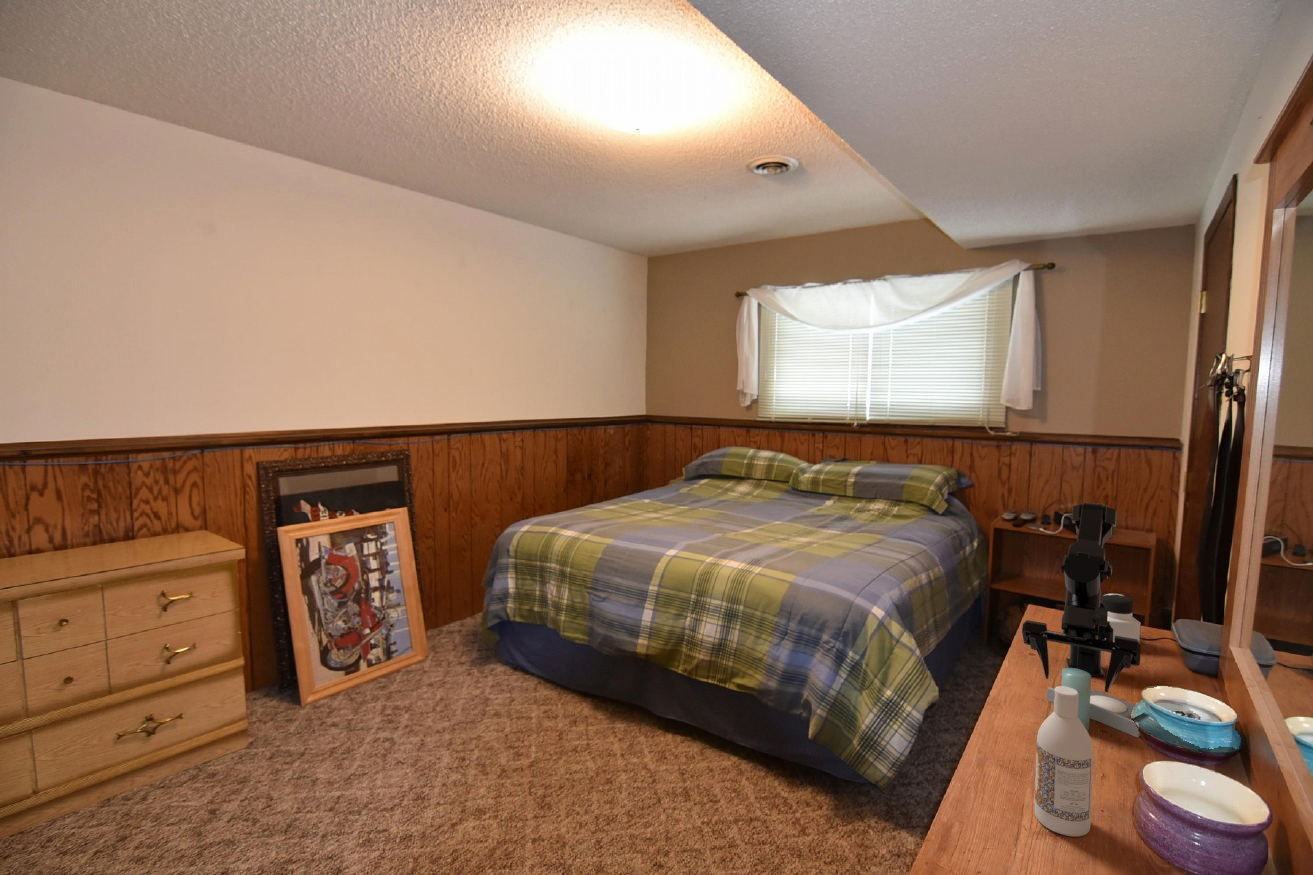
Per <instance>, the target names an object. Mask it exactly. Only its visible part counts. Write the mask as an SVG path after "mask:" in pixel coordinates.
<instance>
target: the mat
mask: <svg viewBox="0 0 1313 875" xmlns="http://www.w3.org/2000/svg"><path fill="white" fill-rule="evenodd" d="M1090 703H1091V704H1094V705H1096V706H1099V707H1101V708H1104V709H1106V710H1109V711H1111V712H1114V713H1116V714H1119V715H1121V716H1124V717H1126V718H1129V719H1131V712H1132V710H1133V707H1135V706H1136V704H1134V703H1131V702H1128V701H1126V700H1123V699H1121V698H1118V697H1116V696H1113V695H1110V694H1108V693H1106V692H1102V691H1100V690H1097V689H1092V690H1091V691H1090Z"/></svg>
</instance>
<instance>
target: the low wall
mask: <svg viewBox="0 0 1313 875" xmlns="http://www.w3.org/2000/svg"><path fill="white" fill-rule="evenodd" d="M1054 698H1055V688H1053V687H1051V686H1048V687H1047V688H1046V700H1047V701H1049V702H1051V703H1053V704H1054ZM1089 719H1091V720H1094V721H1097V722H1100V723H1101V724H1103V725H1106V726H1108V727H1110V728H1113V729H1115V730H1117V731H1118V730H1119V732H1120V731H1121V732H1123V733H1125V734H1127V735H1130V736H1133V737H1135V738H1139V737H1140V734H1141V733H1140V732H1139V731H1138V728H1137V727H1136V724H1135V723H1134V721H1135V720H1134V719H1133V720H1134V721H1133V720H1131V719H1129V718H1126V717H1124V716H1121V715H1119V714H1116V713H1114V712H1111V711H1109V710H1106V709H1104V708H1101V707H1099V706H1096V705H1094V704H1091V703H1090V716H1089Z"/></svg>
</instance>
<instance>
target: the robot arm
mask: <svg viewBox="0 0 1313 875" xmlns="http://www.w3.org/2000/svg"><path fill="white" fill-rule="evenodd" d="M1117 513H1118V512H1117V509H1115V508H1112V507H1111V506H1107V505H1105V504H1103V503H1092V502H1083V503H1079V504H1077V505H1073V506H1072V513H1071V522H1072V524H1075V531H1076V535H1077V539H1076V542H1074V543H1072V544H1071V545H1069V547H1068V552H1067V555H1066V554H1064V556H1063V559H1062V563H1061V566H1060V568H1061V569H1060V570H1061V574H1064V583H1065V584H1064V586H1065V588H1066V590H1065V602H1064V604H1065V605H1064V608H1063V614H1062V616H1061V626H1060V627H1061V630H1062V632H1058V631H1053V630H1048V627H1047V626H1048V625H1047V623H1046V622H1040V621H1034V620H1028V619H1026V620H1025V621H1024V622H1023V623H1022V628H1021V634H1022V640H1023V643H1024V644H1025V645H1027V646H1030V649H1031V650H1034V651H1036V652H1037V654H1038V657H1039V659H1040V661H1041V664H1042V669H1043V673H1044V677H1045V679H1046V680H1049V677H1050V664H1049V663H1050V662H1049V647H1048V642H1054V643H1059V644H1064V645H1070V646H1069V658H1066V661H1065V662H1066V665H1067V668H1076V669H1080V670H1084V671H1086V672H1088V673H1089V674H1090V675H1091V677H1093V676H1094V677H1098V678H1099V677H1100V678H1105V676H1106V678H1105V683H1104V684H1105V685H1104V693H1109V691H1110V688H1112V685H1113V683H1114V682H1115V681H1116V678H1117V677H1118V676H1119V674H1120V673H1121V672H1122V671H1123V670H1124V669H1130V668H1132V666H1135V667H1137V666H1140V665H1141V654H1142V653H1141V649H1142V645H1141V644H1142V643H1141V641H1140V642H1139V641H1138V640H1137V639H1132V638H1126V637H1121V636H1115V640H1114V642H1113V628H1112V627H1111V625H1110V621H1107V619H1108V609H1107V608H1105V607H1104V605H1103V604H1102V601H1101V599H1102V596H1101V595H1102V589H1101V583H1104V580H1108V578H1110V577H1112V574H1113V566H1112V565H1111V563H1110V560H1107V559H1106V550H1105V548H1104V545H1105V543H1106V542H1107V541H1109V539H1111V537H1112V536H1113V535H1112V534H1113V528H1116V527H1117ZM1105 638H1106V639H1105ZM1102 652H1106V653H1111V654H1110V659H1109V664H1108V668H1107V673H1106V675H1105V671H1104V669H1103V667H1102Z"/></svg>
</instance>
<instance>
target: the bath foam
mask: <svg viewBox="0 0 1313 875" xmlns="http://www.w3.org/2000/svg"><path fill="white" fill-rule="evenodd" d="M1054 689H1055V698H1054V703H1053V712H1051V713H1050V715H1049V716H1048V717H1046V719H1045V720H1044V721H1043V722H1042V724H1041V725H1040V726H1039V728H1038V732H1037V736H1036V749H1035V750H1036V752H1035V754H1036V755H1035V781H1034V783H1035V784H1034V814H1035V816H1036V819H1037V820H1038V821H1039V823H1040V824H1042V825H1043V826H1044V827H1045V828H1047V829H1049V830H1050V831H1052V832H1054V833H1057V834H1060V835H1063V836H1067V837H1082V836H1086V835H1087V834H1088V833H1089V832H1090V829H1091V824H1092V822H1091V820H1092V799H1093V798H1092V795H1093V774H1094V771H1093V769H1094V746H1093V742H1092V739H1091V736H1090V734H1089V732H1088V731H1087V730H1086V728H1085V727H1084V725H1083V724H1082V722H1081V721H1080V719H1079V718H1078V699H1079V694H1078V692H1077V691H1076V690H1075V689H1073V688H1070V687H1065V686H1062V685H1059V686H1056V687H1055V688H1054Z"/></svg>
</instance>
